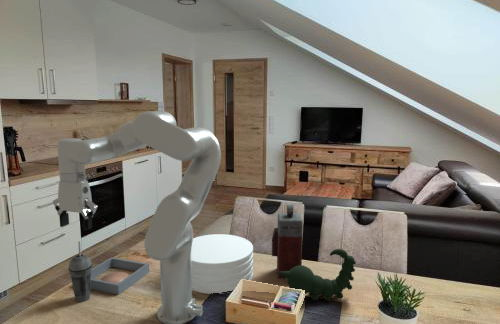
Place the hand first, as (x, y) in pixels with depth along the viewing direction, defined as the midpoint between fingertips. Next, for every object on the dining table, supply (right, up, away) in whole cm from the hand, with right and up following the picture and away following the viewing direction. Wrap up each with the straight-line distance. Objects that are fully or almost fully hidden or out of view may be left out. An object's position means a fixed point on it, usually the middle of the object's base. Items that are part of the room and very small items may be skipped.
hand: (76, 227), depth 119 cm
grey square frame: (+6, -23, +18) cm, 29 cm away
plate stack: (+45, -23, +21) cm, 54 cm away
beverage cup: (0, -25, +4) cm, 26 cm away
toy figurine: (+80, -25, +5) cm, 84 cm away
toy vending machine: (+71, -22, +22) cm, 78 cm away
